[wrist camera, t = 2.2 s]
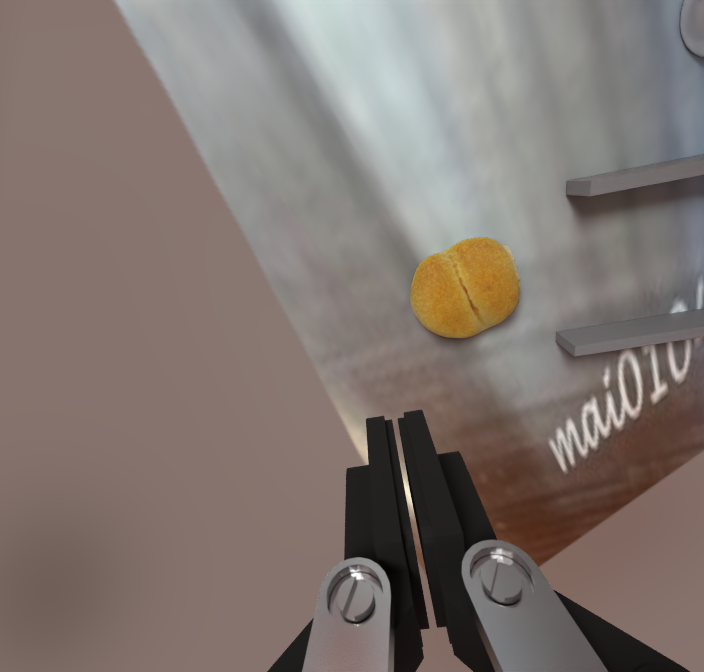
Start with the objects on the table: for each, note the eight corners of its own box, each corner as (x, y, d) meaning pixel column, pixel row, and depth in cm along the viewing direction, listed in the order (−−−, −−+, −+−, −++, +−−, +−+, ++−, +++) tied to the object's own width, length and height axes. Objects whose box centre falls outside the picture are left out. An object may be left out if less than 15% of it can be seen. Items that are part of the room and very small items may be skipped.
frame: (566, 180, 26) (591, 181, 24) (762, 142, 25) (811, 138, 23) (555, 341, 32) (574, 356, 29) (714, 316, 31) (749, 329, 28)
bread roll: (394, 271, 30) (399, 283, 26) (494, 221, 28) (514, 227, 24) (430, 346, 33) (439, 367, 29) (522, 306, 31) (544, 322, 27)
